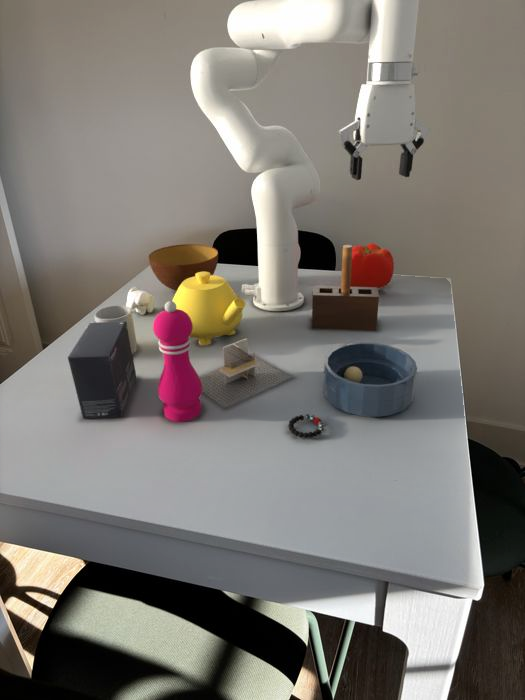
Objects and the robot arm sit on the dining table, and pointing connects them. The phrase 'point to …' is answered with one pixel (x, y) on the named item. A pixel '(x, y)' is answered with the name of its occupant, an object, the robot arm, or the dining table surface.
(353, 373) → the dough ball
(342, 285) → the stick
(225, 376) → the napkin holder
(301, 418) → the bracelet
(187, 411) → the pepper mill
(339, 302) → the rack
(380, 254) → the red bell pepper
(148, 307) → the elephant figurine
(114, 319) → the cup
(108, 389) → the small box
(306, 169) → the robot arm
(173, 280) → the bowl
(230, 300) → the teapot
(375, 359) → the mixing bowl
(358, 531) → the dining table surface
